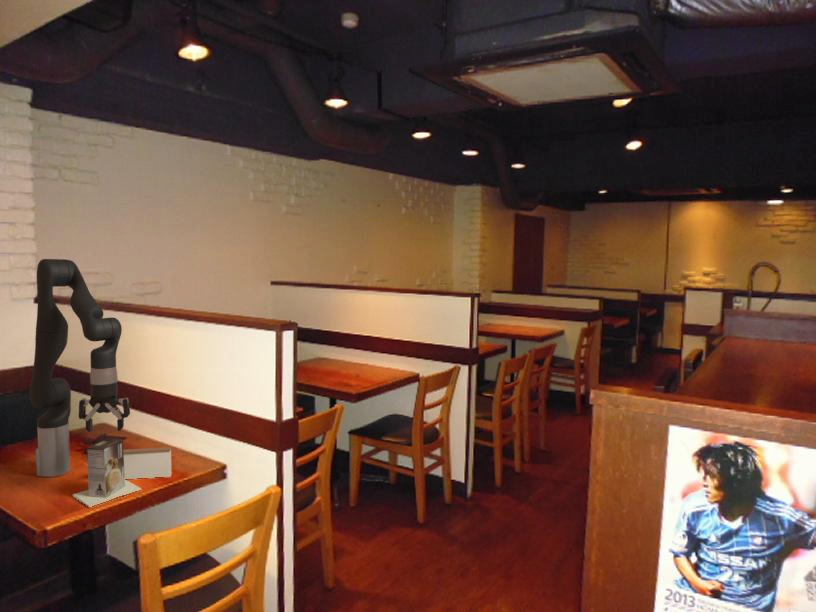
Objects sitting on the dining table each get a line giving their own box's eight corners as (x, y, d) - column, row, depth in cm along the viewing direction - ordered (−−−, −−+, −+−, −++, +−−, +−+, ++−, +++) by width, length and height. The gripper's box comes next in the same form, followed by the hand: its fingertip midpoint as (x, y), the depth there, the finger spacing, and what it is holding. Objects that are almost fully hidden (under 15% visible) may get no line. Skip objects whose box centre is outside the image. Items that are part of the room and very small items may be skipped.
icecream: (125, 428, 223) (82, 437, 215) (125, 429, 216) (81, 438, 209) (127, 445, 222) (84, 455, 215) (128, 446, 216) (84, 456, 208)
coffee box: (107, 484, 183) (106, 437, 181) (125, 486, 182) (124, 439, 180) (87, 496, 173) (86, 447, 172) (106, 498, 173) (104, 448, 171)
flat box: (100, 482, 186) (99, 453, 186) (103, 479, 189) (101, 450, 188) (170, 477, 191) (169, 449, 190) (171, 474, 194) (170, 446, 193)
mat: (89, 508, 168) (88, 505, 168) (72, 496, 175) (72, 494, 175) (141, 490, 180) (141, 488, 180) (124, 481, 188) (124, 478, 187)
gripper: (74, 384, 169) (76, 435, 170) (125, 383, 172) (126, 433, 173) (83, 378, 176) (84, 427, 178) (131, 377, 179) (132, 426, 181)
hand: (105, 430), depth 175 cm, fingers open, 8 cm apart
